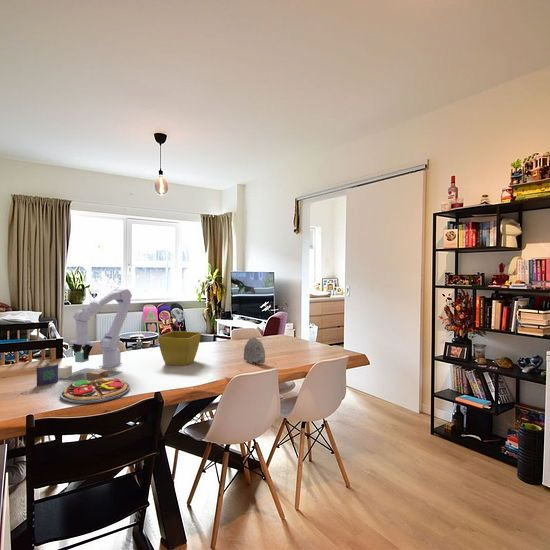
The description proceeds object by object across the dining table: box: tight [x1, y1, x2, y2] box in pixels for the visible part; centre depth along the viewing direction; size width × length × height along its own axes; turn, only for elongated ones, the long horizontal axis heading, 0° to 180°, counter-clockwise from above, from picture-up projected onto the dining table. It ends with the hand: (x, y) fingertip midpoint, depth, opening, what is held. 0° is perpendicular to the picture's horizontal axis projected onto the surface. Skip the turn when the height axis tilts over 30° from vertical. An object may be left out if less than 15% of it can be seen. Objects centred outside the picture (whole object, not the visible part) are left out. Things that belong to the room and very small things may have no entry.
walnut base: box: [86, 368, 109, 380], centre depth 182 cm, size 7×7×3 cm
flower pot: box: [157, 330, 202, 367], centre depth 214 cm, size 19×19×17 cm
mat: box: [58, 367, 123, 382], centre depth 186 cm, size 20×24×1 cm
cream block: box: [58, 365, 73, 378], centre depth 183 cm, size 4×4×5 cm
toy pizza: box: [59, 377, 131, 404], centre depth 161 cm, size 28×28×4 cm
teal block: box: [74, 350, 90, 363], centre depth 192 cm, size 4×4×5 cm
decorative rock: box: [243, 337, 266, 365], centre depth 216 cm, size 16×7×15 cm, turn 36°
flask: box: [36, 361, 59, 387], centre depth 172 cm, size 9×3×11 cm, turn 144°
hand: (82, 358), depth 192 cm, fingers closed on teal block, 4 cm apart
